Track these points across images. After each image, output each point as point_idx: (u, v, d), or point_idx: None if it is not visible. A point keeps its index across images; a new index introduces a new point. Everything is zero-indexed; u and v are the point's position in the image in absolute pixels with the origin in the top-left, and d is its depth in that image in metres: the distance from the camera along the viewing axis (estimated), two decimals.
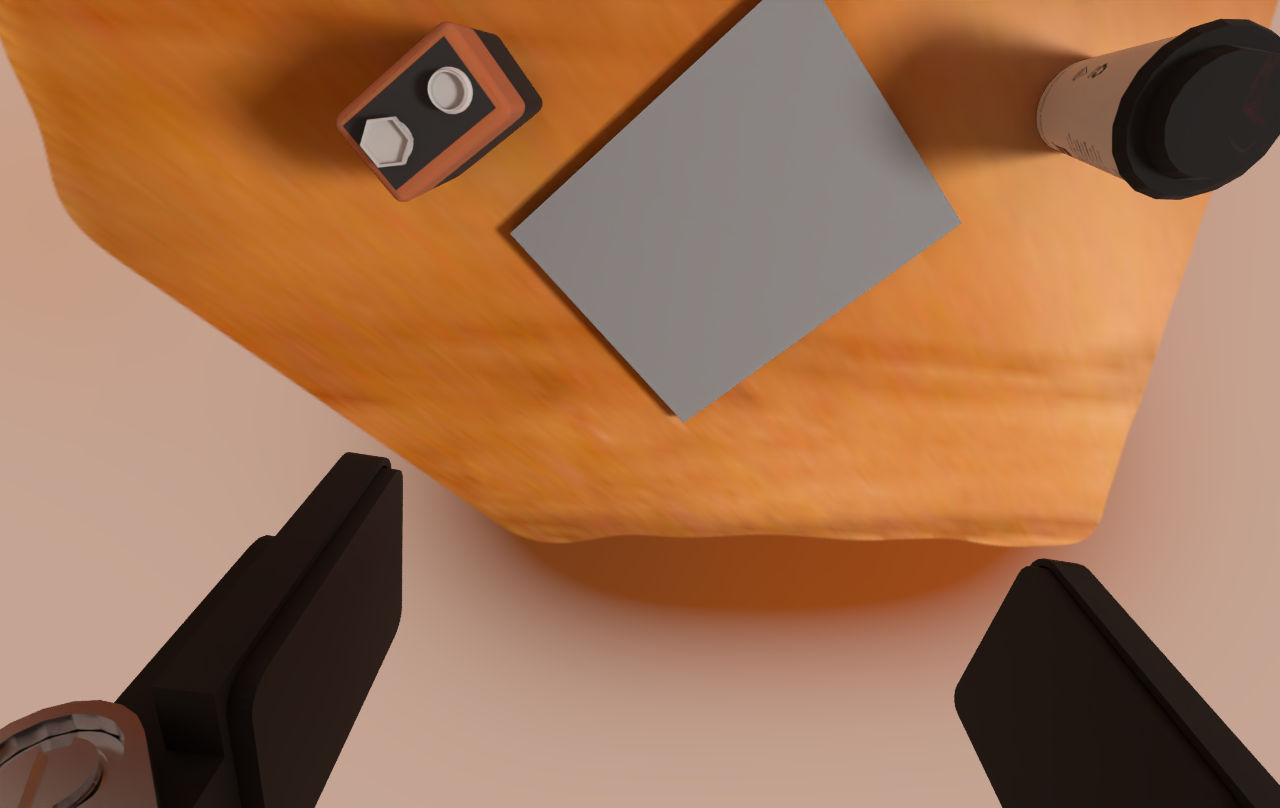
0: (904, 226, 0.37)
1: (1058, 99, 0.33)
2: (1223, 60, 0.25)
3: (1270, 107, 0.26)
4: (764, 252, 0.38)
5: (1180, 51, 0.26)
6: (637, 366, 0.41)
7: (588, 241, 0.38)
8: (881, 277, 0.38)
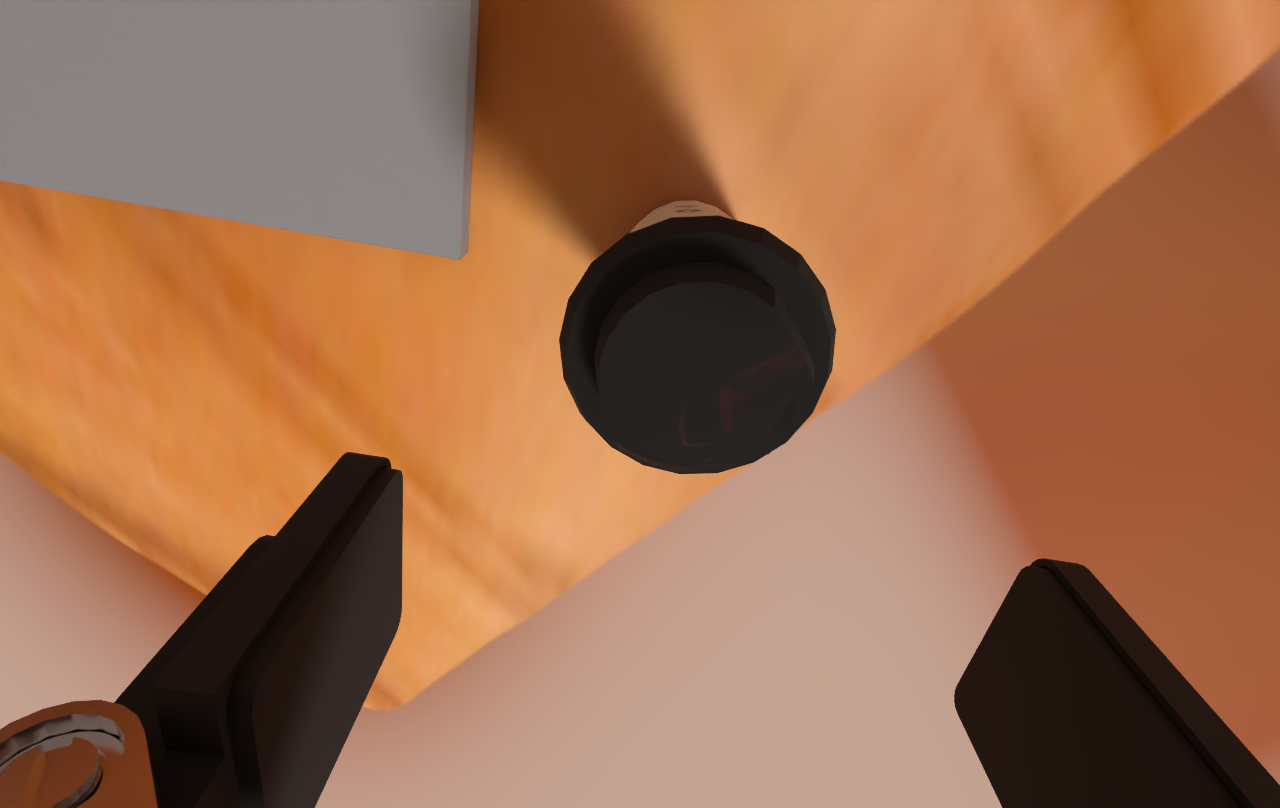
0: (387, 193, 0.22)
1: (650, 215, 0.21)
2: (744, 298, 0.14)
3: (749, 417, 0.16)
4: (161, 25, 0.20)
5: (723, 240, 0.15)
6: None
7: None
8: (315, 230, 0.23)
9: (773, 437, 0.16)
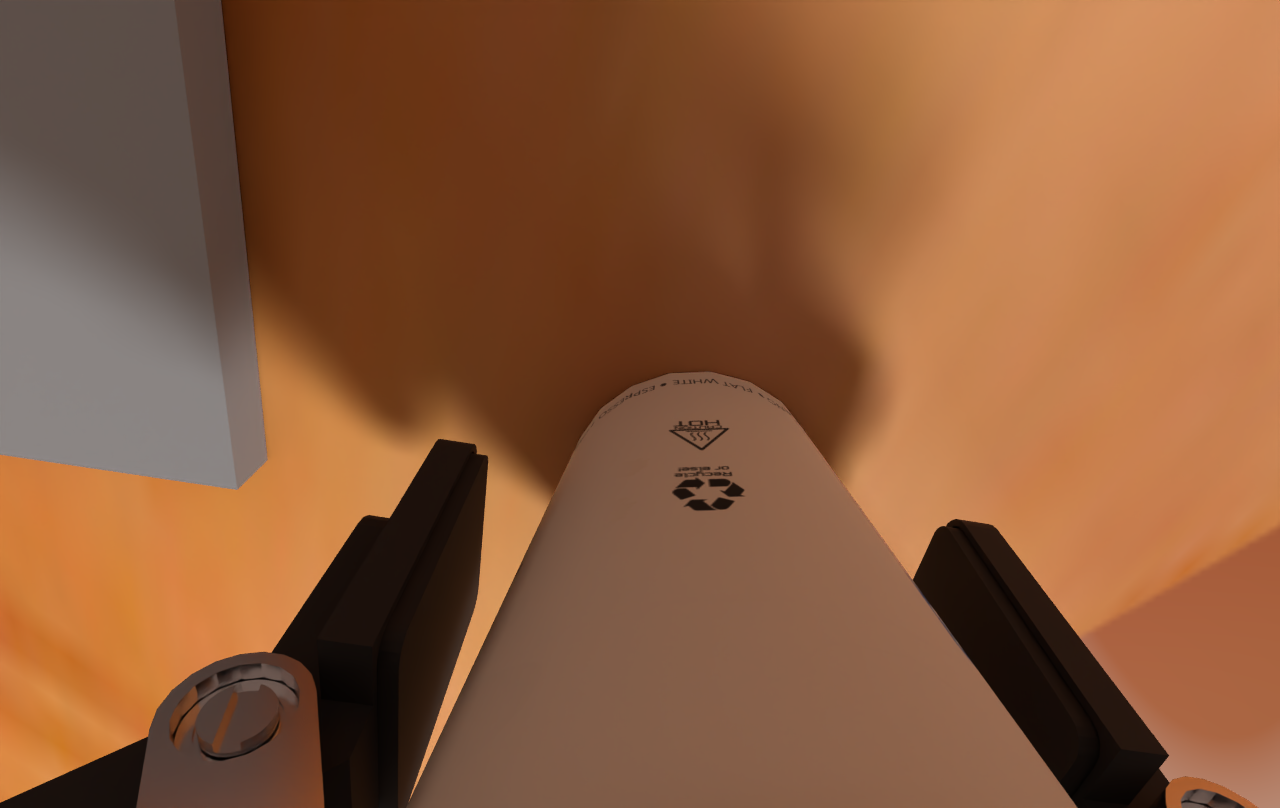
0: (63, 369, 0.11)
1: (616, 437, 0.10)
2: None
3: None
4: None
5: None
6: None
7: None
8: None
9: None
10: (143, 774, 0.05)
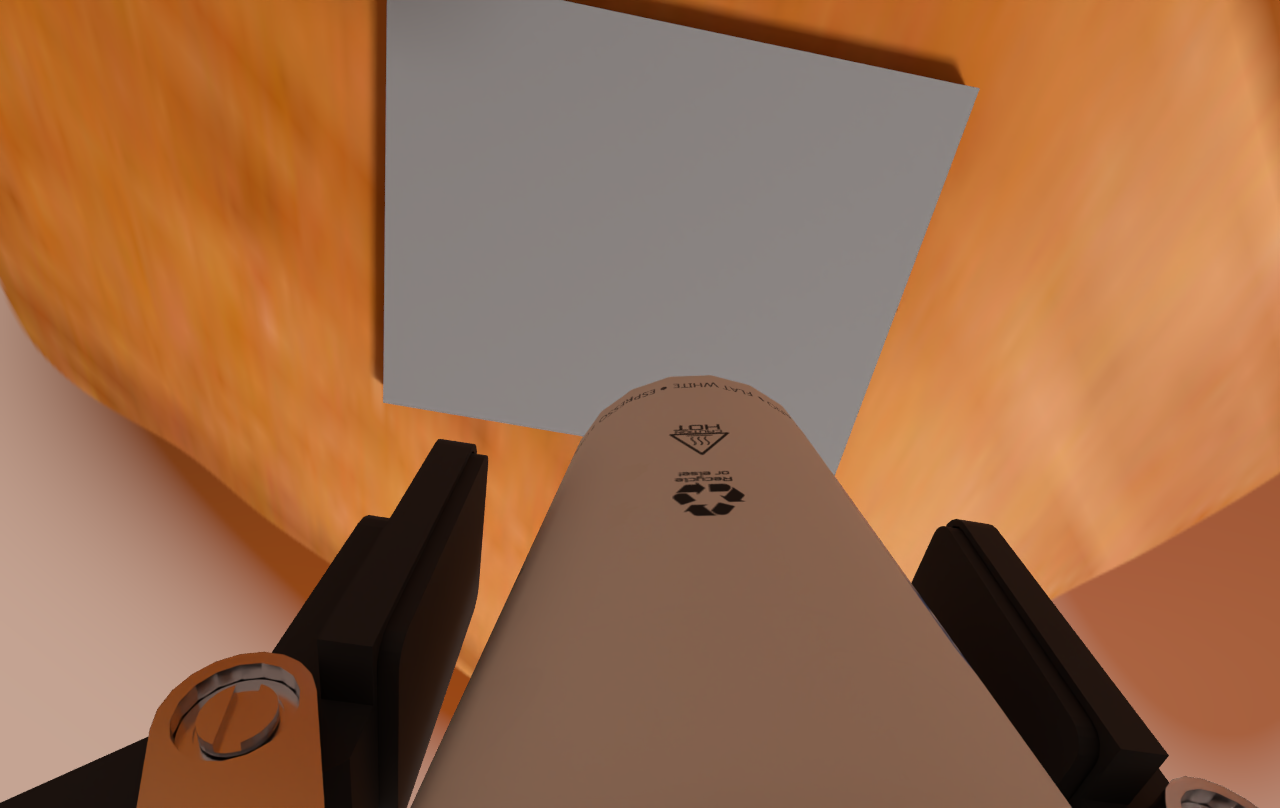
0: None
1: (616, 441, 0.10)
2: None
3: None
4: (650, 320, 0.26)
5: None
6: (391, 292, 0.26)
7: (478, 92, 0.23)
8: None
9: None
10: (143, 775, 0.05)
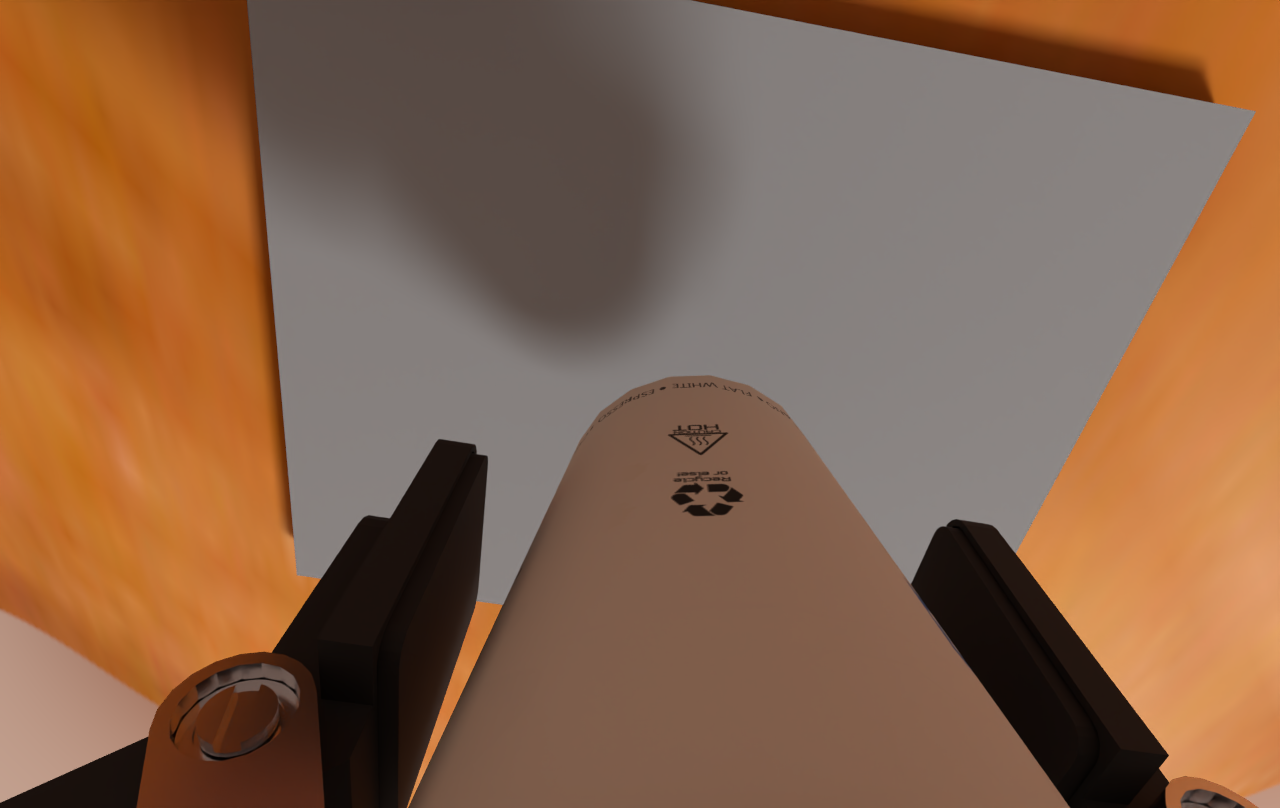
0: None
1: (615, 441, 0.10)
2: None
3: None
4: None
5: None
6: (294, 429, 0.17)
7: (409, 130, 0.14)
8: None
9: None
10: (143, 774, 0.05)
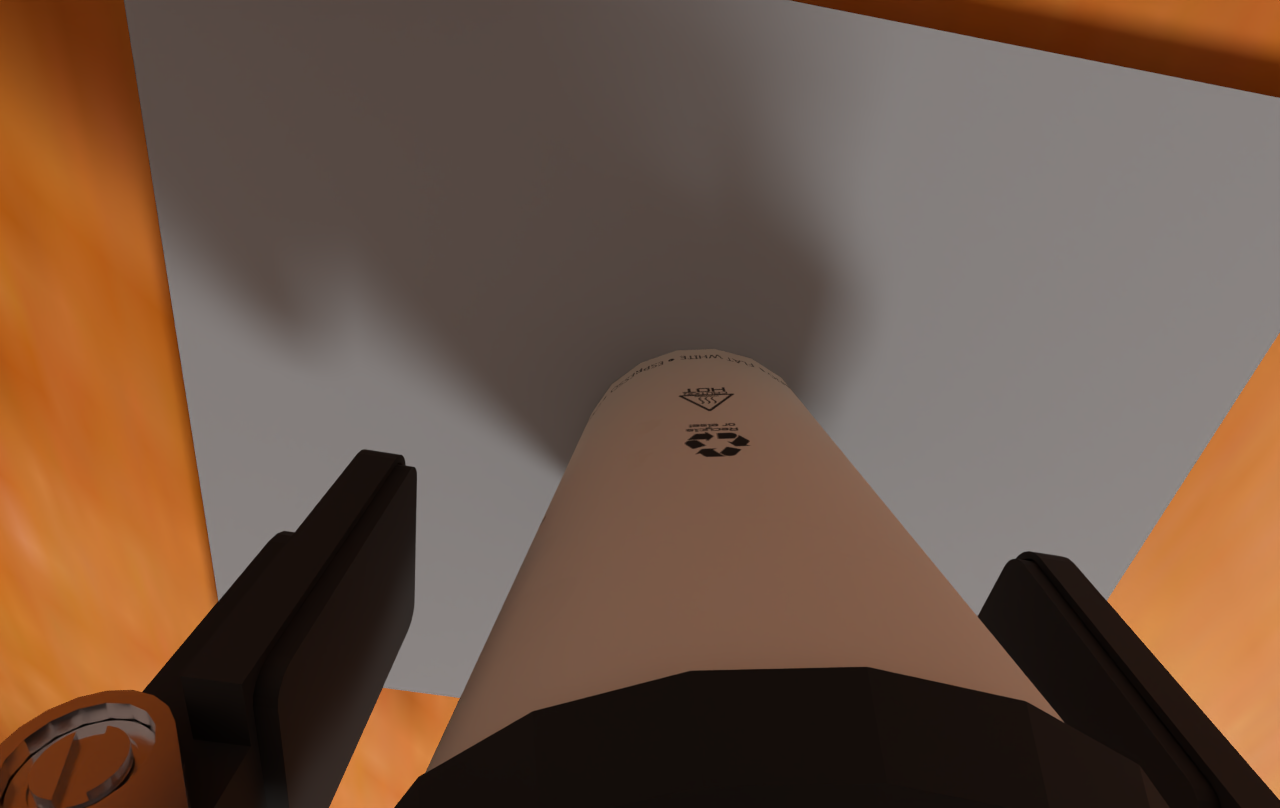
0: None
1: (629, 404, 0.10)
2: None
3: None
4: None
5: (898, 806, 0.04)
6: (216, 505, 0.14)
7: (339, 148, 0.11)
8: None
9: None
10: None
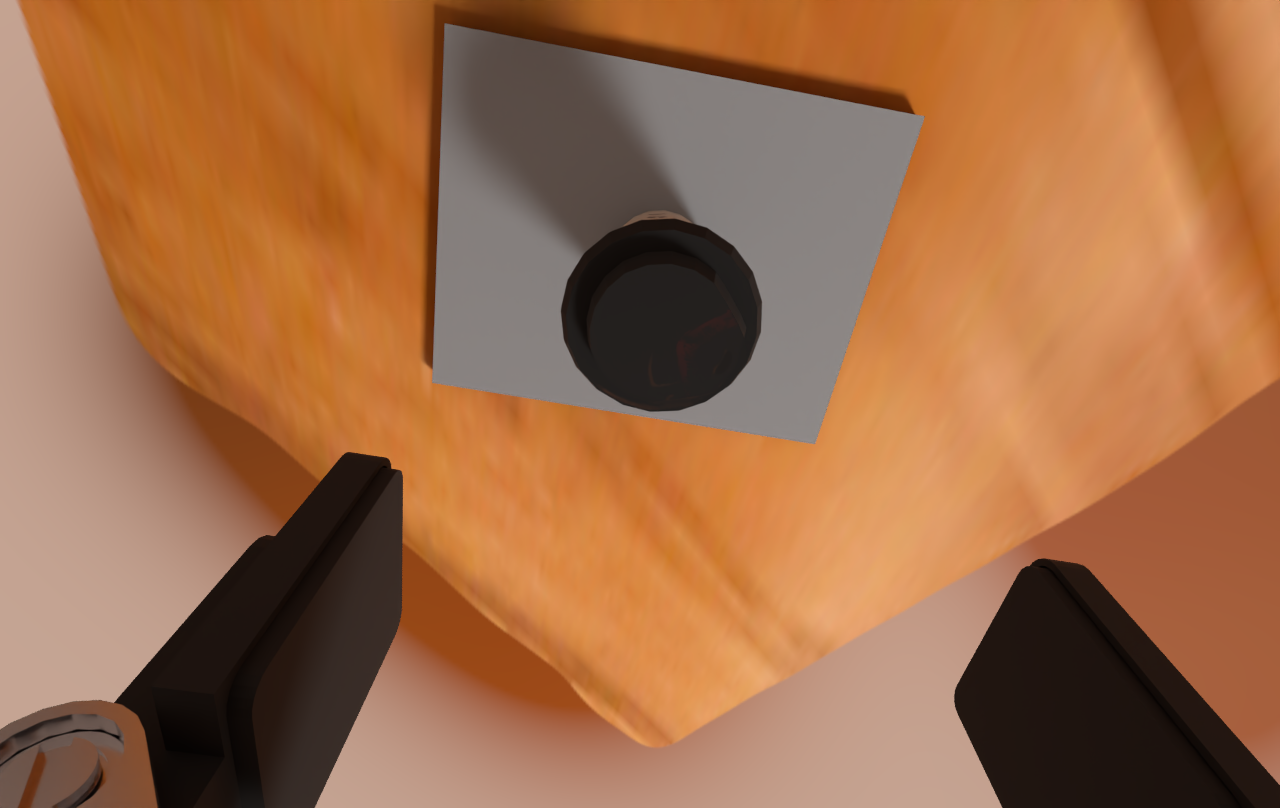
0: (777, 404, 0.33)
1: (629, 221, 0.27)
2: (692, 275, 0.20)
3: (699, 364, 0.22)
4: None
5: (677, 236, 0.21)
6: (441, 289, 0.31)
7: (516, 124, 0.28)
8: (721, 426, 0.34)
9: (716, 379, 0.22)
10: None
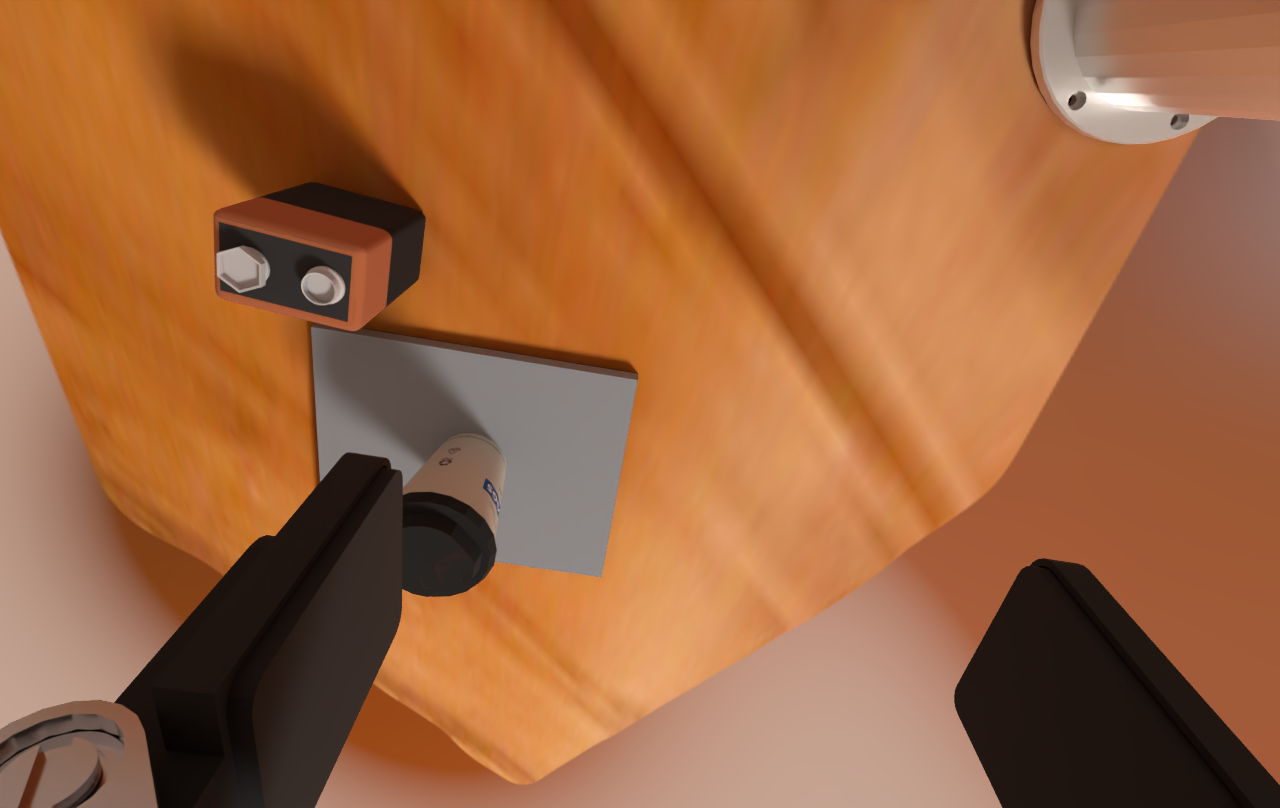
0: (569, 551, 0.47)
1: (438, 451, 0.41)
2: (436, 532, 0.34)
3: (450, 577, 0.35)
4: None
5: (430, 505, 0.34)
6: None
7: (364, 383, 0.41)
8: (532, 565, 0.47)
9: (463, 585, 0.35)
10: None
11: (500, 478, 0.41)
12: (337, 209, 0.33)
